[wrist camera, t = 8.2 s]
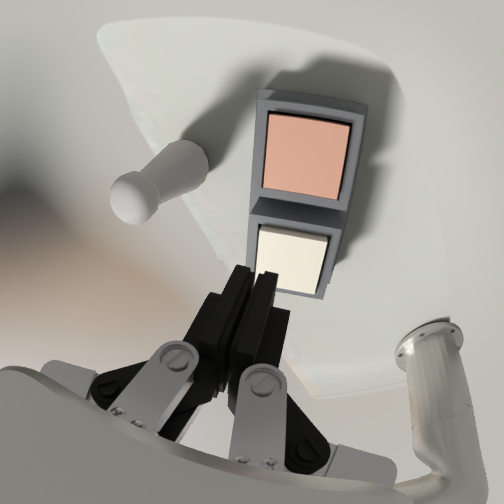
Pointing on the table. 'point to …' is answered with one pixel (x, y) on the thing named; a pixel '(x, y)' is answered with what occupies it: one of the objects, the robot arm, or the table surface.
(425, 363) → the robot arm
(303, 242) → the ivory key
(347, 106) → the key panel
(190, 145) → the salt shaker
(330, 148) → the terracotta key
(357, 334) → the table surface
